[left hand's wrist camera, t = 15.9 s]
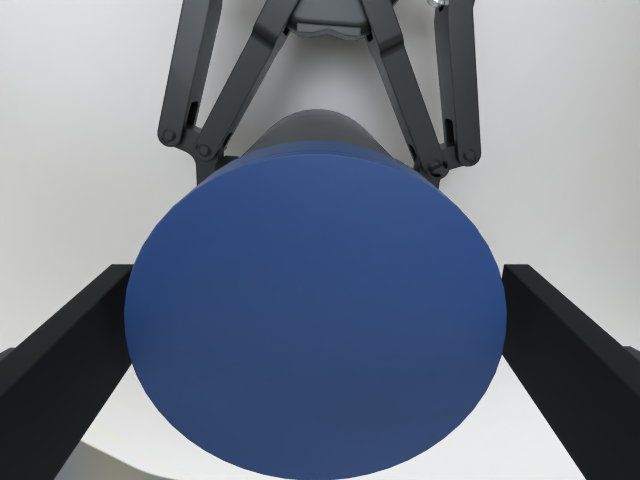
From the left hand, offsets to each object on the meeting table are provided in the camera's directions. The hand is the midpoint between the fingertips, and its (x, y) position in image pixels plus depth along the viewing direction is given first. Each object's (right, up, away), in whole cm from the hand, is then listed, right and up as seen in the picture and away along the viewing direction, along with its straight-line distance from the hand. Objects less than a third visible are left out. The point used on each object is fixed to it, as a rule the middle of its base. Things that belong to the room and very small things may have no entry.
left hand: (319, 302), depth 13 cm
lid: (0, -1, -2) cm, 2 cm away
